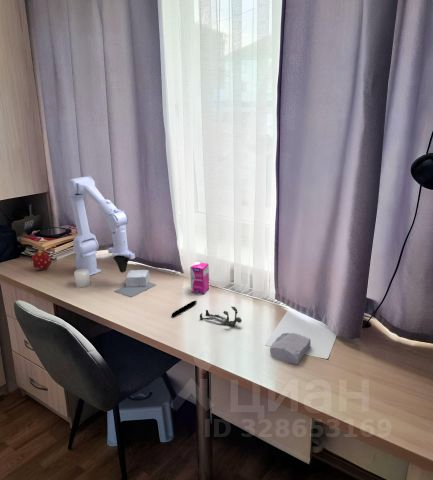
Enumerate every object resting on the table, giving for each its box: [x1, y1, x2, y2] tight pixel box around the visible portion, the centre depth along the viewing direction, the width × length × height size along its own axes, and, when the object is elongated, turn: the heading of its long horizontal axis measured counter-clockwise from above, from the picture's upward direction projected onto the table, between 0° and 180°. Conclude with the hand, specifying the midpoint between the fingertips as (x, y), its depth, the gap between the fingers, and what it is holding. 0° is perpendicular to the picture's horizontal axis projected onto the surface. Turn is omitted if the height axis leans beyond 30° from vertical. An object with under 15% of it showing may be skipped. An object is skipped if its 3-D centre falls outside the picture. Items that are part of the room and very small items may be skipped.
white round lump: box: [73, 269, 91, 288], centre depth 170 cm, size 6×6×6 cm
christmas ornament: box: [31, 249, 52, 271], centre depth 186 cm, size 9×9×10 cm
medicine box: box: [125, 269, 150, 287], centre depth 169 cm, size 8×4×9 cm
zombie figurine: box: [199, 306, 242, 327], centre depth 136 cm, size 5×7×15 cm
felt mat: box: [114, 281, 157, 298], centre depth 165 cm, size 10×14×1 cm
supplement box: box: [189, 261, 210, 295], centre depth 160 cm, size 6×6×12 cm
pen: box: [171, 300, 198, 318], centre depth 146 cm, size 2×14×2 cm, turn 143°
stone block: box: [269, 332, 311, 365], centre depth 120 cm, size 12×5×10 cm
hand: (123, 271), depth 168 cm, fingers closed
